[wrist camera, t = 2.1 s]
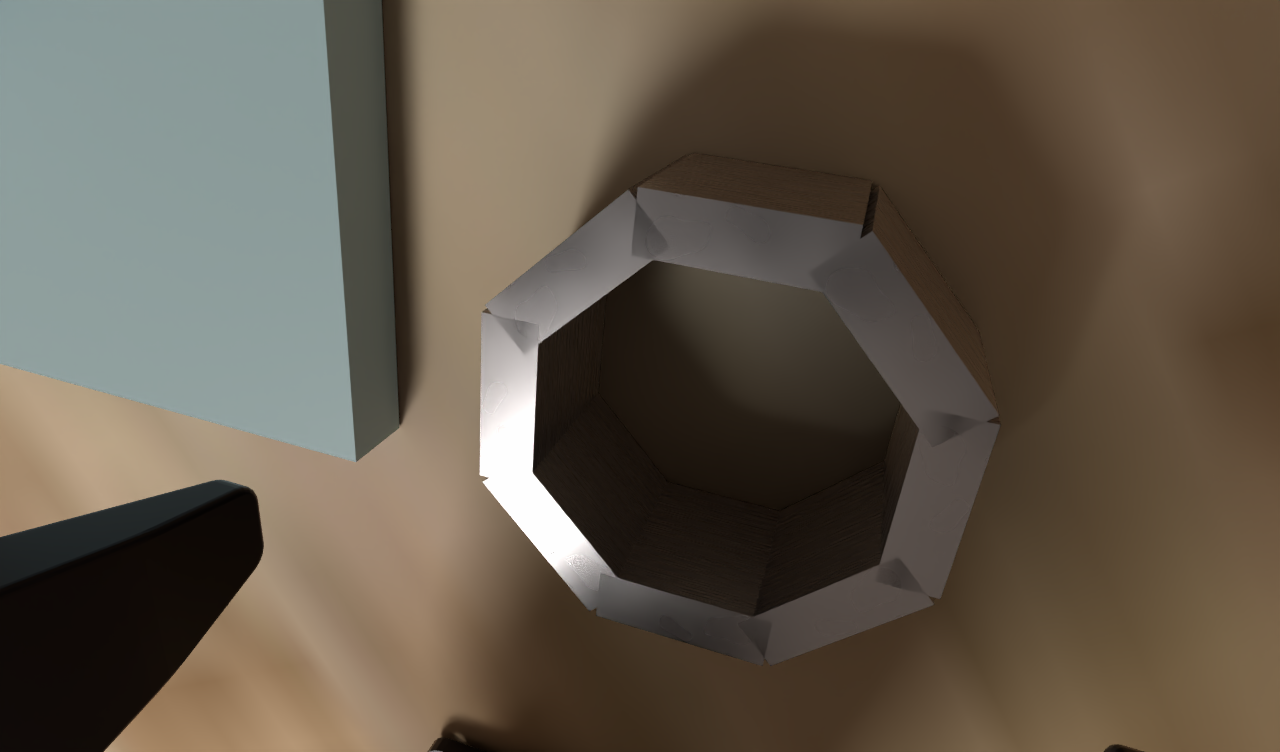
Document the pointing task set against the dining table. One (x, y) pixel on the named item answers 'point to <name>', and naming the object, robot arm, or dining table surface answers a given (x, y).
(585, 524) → the ring
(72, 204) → the piston plate
